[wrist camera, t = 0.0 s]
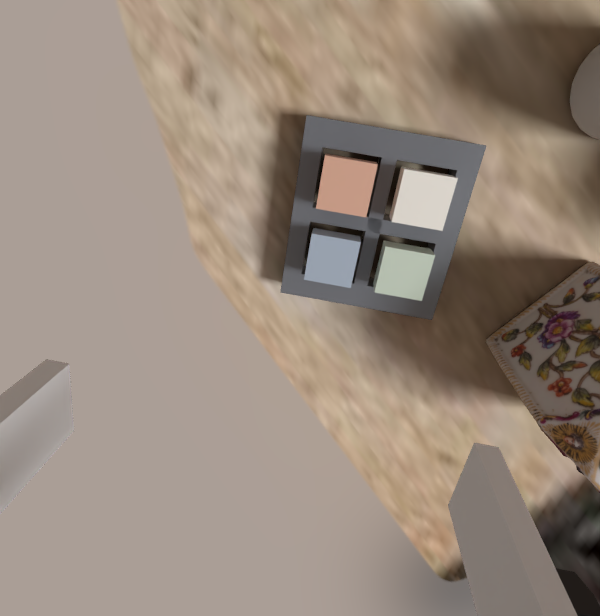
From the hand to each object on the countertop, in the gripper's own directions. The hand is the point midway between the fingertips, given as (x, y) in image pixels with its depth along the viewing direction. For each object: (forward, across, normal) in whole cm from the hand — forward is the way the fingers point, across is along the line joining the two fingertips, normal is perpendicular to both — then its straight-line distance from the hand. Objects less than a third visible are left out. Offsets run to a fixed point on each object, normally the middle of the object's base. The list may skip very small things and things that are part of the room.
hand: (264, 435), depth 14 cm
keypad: (+28, +5, +2) cm, 28 cm away
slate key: (+26, +2, -1) cm, 26 cm away
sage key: (+26, +8, -1) cm, 27 cm away
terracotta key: (+26, +2, +5) cm, 27 cm away
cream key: (+26, +8, +5) cm, 28 cm away
